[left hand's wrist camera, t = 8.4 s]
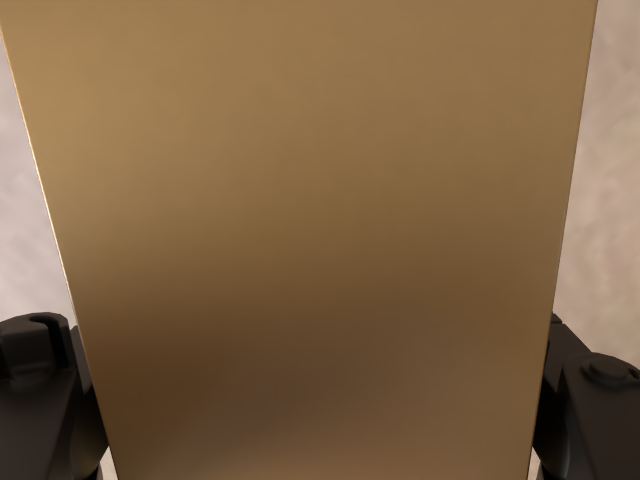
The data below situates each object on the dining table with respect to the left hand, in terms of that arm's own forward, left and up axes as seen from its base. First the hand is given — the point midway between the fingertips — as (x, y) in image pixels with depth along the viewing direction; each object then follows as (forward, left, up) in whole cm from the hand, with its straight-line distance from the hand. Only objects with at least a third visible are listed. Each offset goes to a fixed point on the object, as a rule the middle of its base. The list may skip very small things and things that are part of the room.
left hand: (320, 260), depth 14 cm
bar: (+25, -5, -1) cm, 26 cm away
